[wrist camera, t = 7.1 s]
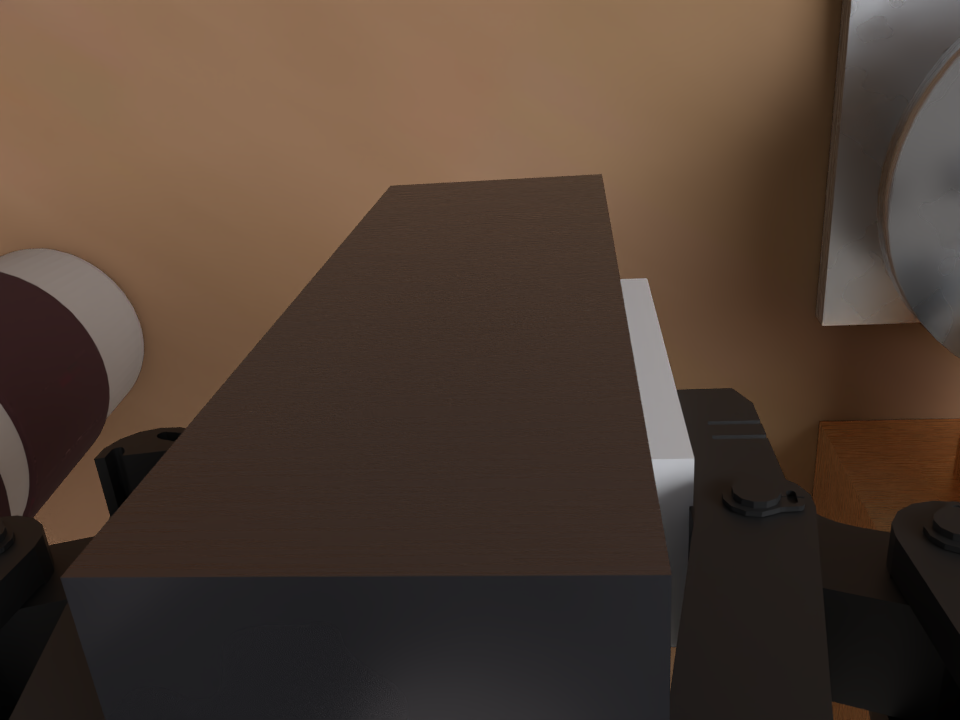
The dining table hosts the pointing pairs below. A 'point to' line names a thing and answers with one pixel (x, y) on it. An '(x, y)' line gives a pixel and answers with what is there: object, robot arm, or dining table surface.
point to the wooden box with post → (892, 246)
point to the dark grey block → (406, 491)
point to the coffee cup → (57, 368)
